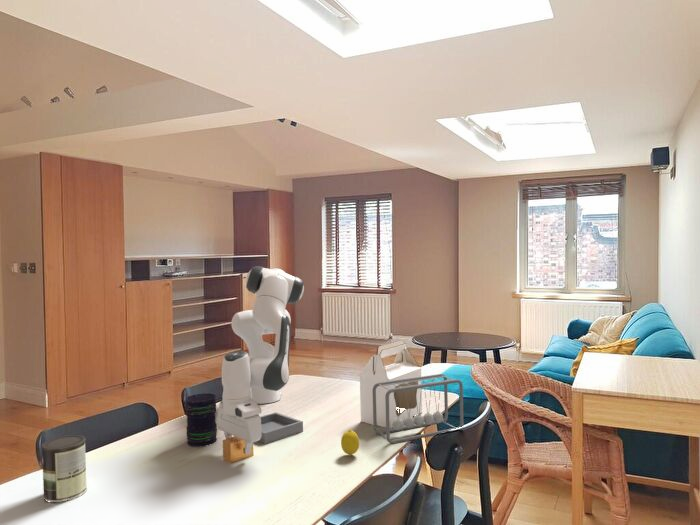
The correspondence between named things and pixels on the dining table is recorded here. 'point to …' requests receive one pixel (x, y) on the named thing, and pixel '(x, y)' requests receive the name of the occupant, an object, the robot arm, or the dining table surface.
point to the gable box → (378, 373)
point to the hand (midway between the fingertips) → (238, 449)
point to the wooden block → (234, 449)
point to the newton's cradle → (418, 419)
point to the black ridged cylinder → (201, 420)
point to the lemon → (350, 442)
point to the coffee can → (64, 468)
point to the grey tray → (278, 427)
